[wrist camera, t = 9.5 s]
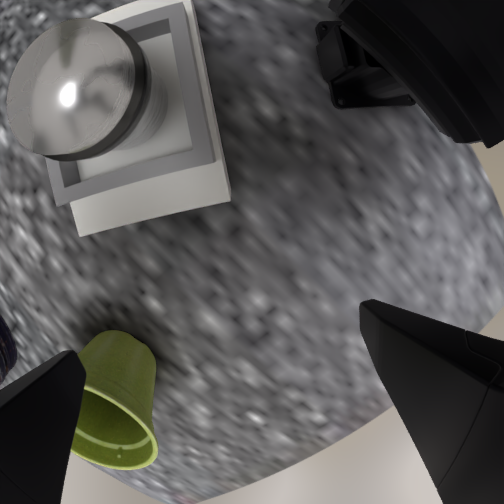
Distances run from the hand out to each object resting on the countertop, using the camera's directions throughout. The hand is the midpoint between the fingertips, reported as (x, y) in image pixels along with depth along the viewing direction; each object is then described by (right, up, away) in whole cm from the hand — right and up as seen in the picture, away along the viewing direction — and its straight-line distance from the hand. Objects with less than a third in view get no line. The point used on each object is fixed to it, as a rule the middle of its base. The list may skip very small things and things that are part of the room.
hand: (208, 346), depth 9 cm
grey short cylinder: (-6, +10, +6) cm, 13 cm away
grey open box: (-6, +12, +10) cm, 16 cm away
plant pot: (-10, -6, +16) cm, 19 cm away
